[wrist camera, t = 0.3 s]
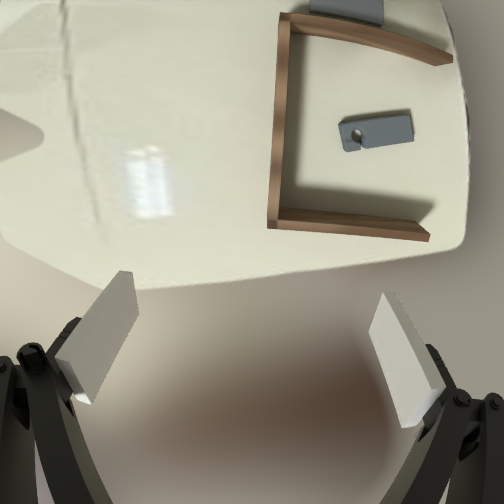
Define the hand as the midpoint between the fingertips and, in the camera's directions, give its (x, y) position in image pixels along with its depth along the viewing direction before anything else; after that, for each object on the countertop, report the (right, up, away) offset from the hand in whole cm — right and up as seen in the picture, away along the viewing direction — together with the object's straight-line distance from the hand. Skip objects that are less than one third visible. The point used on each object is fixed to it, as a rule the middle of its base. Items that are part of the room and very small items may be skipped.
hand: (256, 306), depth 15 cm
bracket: (+17, +19, +20) cm, 33 cm away
